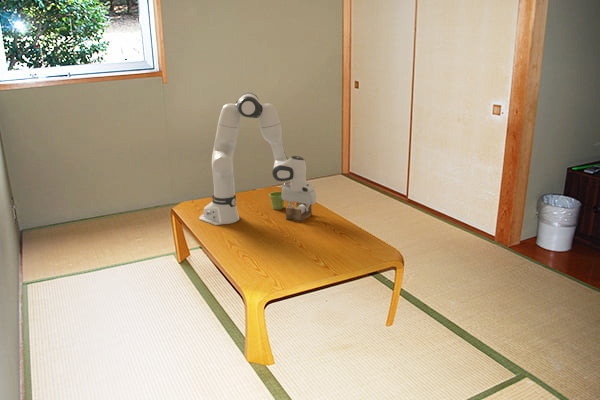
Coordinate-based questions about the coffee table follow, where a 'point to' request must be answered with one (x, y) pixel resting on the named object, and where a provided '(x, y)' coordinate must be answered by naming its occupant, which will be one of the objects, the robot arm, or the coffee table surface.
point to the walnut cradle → (297, 213)
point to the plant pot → (276, 200)
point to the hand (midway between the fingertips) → (298, 209)
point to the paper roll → (301, 208)
